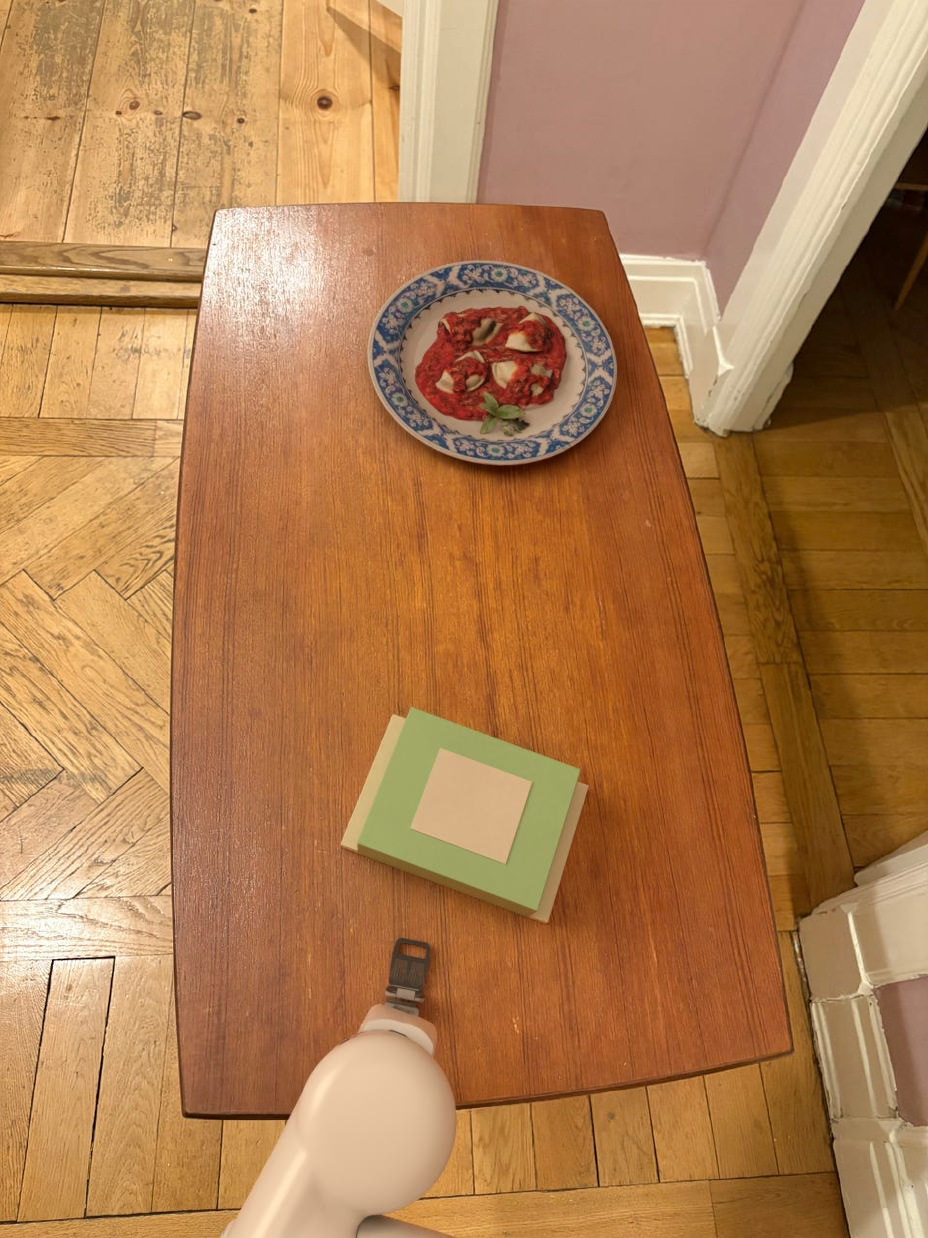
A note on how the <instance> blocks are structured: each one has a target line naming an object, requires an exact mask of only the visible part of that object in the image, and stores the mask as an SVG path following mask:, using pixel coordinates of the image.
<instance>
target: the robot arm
mask: <svg viewBox="0 0 928 1238" xmlns="http://www.w3.org/2000/svg"><path fill="white" fill-rule="evenodd" d="M409 1013H410V1010H408V1009H405V1008H403V1007H400V1006H398V1005H395V1004H394V1006H393V1008H392V1007H390V1006H386V1005H384V1004H382V1003H376V1004H374V1005H372V1006H371V1007H370V1008H369V1010H368V1012H367V1014H366V1015H365V1017H364V1019H363V1021H362V1023H361V1025H360V1027H359V1029H358V1030H357V1033H354V1034H351V1035H350V1036H348V1037H345V1038H344V1039H343V1040H341V1041H340V1042H339V1043H338V1044H336V1045H335V1046H334V1047H333V1048H332V1049H331V1050H329V1052H328V1053H327V1054H326V1055H324V1057H323V1058H322V1059H321V1060H320V1061H319V1062H318V1064H316V1066H315V1067H314V1069H313V1070H312V1071H311V1073H310V1075H309V1077H308V1078H307V1080H306V1083H305V1085H304V1087H303V1089H302V1092H301V1094H300V1096H299V1098H298V1099H297V1102H296V1104H295V1106H294V1108H293V1109H292V1111H291V1113H290V1115H289V1117H288V1119H287V1122H285V1123H286V1124H285V1126H284V1127H283V1129H282V1131H281V1133H280V1136H279V1137H278V1139H277V1141H276V1143H275V1145H274V1147H273V1149H272V1150H271V1153H270V1155H269V1156H268V1159H266V1162H265V1164H264V1166H263V1168H262V1170H261V1172H260V1173H259V1175H258V1177H257V1179H256V1180H255V1182H254V1184H253V1187H252V1188H251V1190H250V1192H249V1194H248V1195H247V1198H246V1200H245V1201H244V1203H243V1205H242V1207H241V1209H240V1211H239V1212H238V1214H237V1216H236V1217H234V1218H233V1219H232V1220H230V1221H229V1223H228V1224H227V1225H226V1227H225V1228H224V1229H223V1231H222V1232H221V1233H220V1236H219V1238H458V1237H456V1236H453V1235H450V1234H448V1233H444V1232H441V1231H438V1230H435V1229H432V1228H428V1227H426V1226H422V1225H418V1224H415V1223H411V1222H408V1221H405V1220H401V1219H398V1218H394V1217H391V1216H387V1214H391V1213H394V1212H398V1211H400V1210H403V1209H406V1208H407V1207H409V1206H411V1205H413V1204H414V1203H415V1202H417V1201H418V1200H420V1199H421V1198H422V1197H423V1196H424V1195H425V1194H427V1193H428V1192H429V1191H430V1190H431V1189H432V1188H433V1186H434V1185H435V1184H436V1183H437V1182H438V1181H439V1179H440V1177H441V1176H442V1175H443V1172H444V1171H445V1169H446V1167H447V1165H448V1163H449V1161H450V1158H451V1155H452V1152H453V1149H454V1145H455V1141H456V1135H457V1124H458V1123H457V1109H456V1108H457V1107H456V1100H455V1096H454V1093H453V1090H452V1086H451V1083H450V1082H449V1079H448V1077H447V1075H446V1073H445V1072H444V1070H443V1068H442V1067H441V1065H440V1064H439V1062H438V1061H437V1059H436V1058H435V1053H436V1049H437V1044H438V1043H437V1042H438V1031H437V1030H438V1029H437V1028H436V1026H435V1025H434V1023H432V1022H430V1021H428V1020H426V1019H425V1018H422V1017H420V1016H416V1015H411V1014H409Z"/></svg>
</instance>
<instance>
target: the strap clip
mask: <svg viewBox="0 0 928 1238" xmlns="http://www.w3.org/2000/svg"><path fill="white" fill-rule="evenodd" d="M402 943H403V944H410V945H415V946H420V947H423V948H425V957H418V956H412V955H408V954H402V953H398V950H399V947H400V944H402ZM391 954H392V955H391V959H390V968H389V974H388V984H389V985H387V987H386V988H385V991H384V996H385V997H391V999H390V998H389V999H388V1000H387V1002H385V1003H384V1004H383V1005H386V1006H390V1007H392V1008H393V1006H394V1004H395V1005H398V1006H400V1007H403V1008H405V1009H408V1010H410V1013H409V1014H411V1015H416V1016H418V1017H420V1016H419V1015H420V1009H419V1008H418V1005H417V1004H416V1003H417V1002H418V1003H421V1004H424V1003H425V999H426V995H425V994H424V993H423V992H422V990H423V989H424V985H425V982H426V978H427V974H428V969H429V965H430V960H431V945H430V944H429V943H428V942H427V941H421V940H415V939H411V938H405V937H399V938H397V940H396V941H395V945H394V946H393V950H392V953H391ZM392 998H396V999H401V1000H407V1001H412V1002H416V1003H412V1002H407V1001H401V1000H396V999H392Z"/></svg>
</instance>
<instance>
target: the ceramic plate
mask: <svg viewBox="0 0 928 1238" xmlns="http://www.w3.org/2000/svg"><path fill="white" fill-rule="evenodd" d="M366 351H367V352H366V357H367V366H368V370H369V376H370V379H371V382H372V386H373V388H374V390H375V393H376V395H377V396H378V398H379V400H380V402H381V403H382V405H383V407H384V409H385V411H387V412H388V414H389V415H390V416H391V418H393V419H394V421H395V422H396V423H397V424H398V425H399V426H400V427H402V429H404V430H405V432H407V433H408V434H409V435H411V436H412V437H413V438H415V439H416V440H418V441H419V442H421V443H423V444H424V445H426V446H427V447H429V448H431V449H433V450H434V451H437V452H439V453H442V454H444V455H447V456H449V457H452V458H455V459H458V460H461V461H465V462H470V463H474V464H479V465H480V464H481V465H489V466H516V465H525V464H530V463H536V462H539V461H543V460H546V459H550V458H552V457H554V456H557V455H559V454H561V453H564V452H566V451H568V450H570V448H572V447H574V446H575V445H577V444H579V443H580V442H581V441H583V440H584V439H585V438H586V437H588V436H589V434H591V433H592V432H593V430H594V429H595V428H596V427H597V426H598V425H599V423H600V422H601V421H602V419H603V418H604V416H605V414H606V413H607V411H608V409H609V407H610V405H611V403H612V401H613V398H614V394H615V392H616V387H617V374H618V365H617V358H616V357H617V356H616V351H615V348H614V344H613V342H612V338H611V336H610V334H609V332H608V330H607V328H606V326H605V324H604V323H603V321H602V319H601V318H600V317H599V315H598V314H597V312H596V311H595V310H594V309H593V308H592V306H590V304H589V303H587V301H586V300H585V299H584V298H583V297H581V296H580V295H579V294H578V293H577V292H575V291H574V290H573V289H572V288H570V287H569V286H567V285H566V284H564V283H563V282H561V281H559V280H557V278H554V277H552V276H550V275H548V274H547V273H544V272H543V271H540V270H537V269H533V268H531V267H527V266H523V265H520V264H516V263H512V262H506V261H499V260H488V259H487V260H486V259H485V260H484V259H483V260H481V259H480V260H478V259H477V260H475V259H474V260H464V261H458V262H457V261H456V262H452V263H446V264H443V265H440V266H436V267H433V268H430V269H428V270H426V271H424V272H421V273H419V274H418V275H416V276H414V277H412V278H411V279H409V280H408V281H406V282H404V283H403V284H402V285H401V286H400V287H399V288H398V289H396V290H394V291H393V293H392V294H391V295H390V296H389V297H388V298H387V299H386V301H385V302H384V303H383V305H381V307H380V309H379V311H378V312H377V314H376V315H375V318H374V320H373V323H372V325H371V329H370V331H369V336H368V341H367V349H366Z"/></svg>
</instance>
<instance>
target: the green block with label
mask: <svg viewBox="0 0 928 1238" xmlns="http://www.w3.org/2000/svg"><path fill="white" fill-rule="evenodd" d="M580 774H581V768H579V767H577V766H574V765H570V764H568V763H565V762H562V761H560V760H558V759H554V758H551V757H549V756H546V755H543V754H541V753H538V752H535V751H533V750H530V749H527V748H524V747H522V746H519V745H516V744H513V743H511V742H508V741H506V740H503V739H500V738H497V737H494V736H492V735H489V734H486V733H484V732H481V731H478V730H476V729H473V728H470V727H467V726H464V725H462V724H459V723H457V722H453V721H451V720H448V719H445V718H443V717H440V716H438V715H435V714H433V713H430V712H427V711H424V710H421V709H418V708H416V707H413V706H410V708H409V711H408V713H407V715H406V717H403V716H400V715H398V714H395V713H392V715H391V717H390V719H389V721H388V725H387V727H386V730H385V732H384V735H383V737H382V740H381V742H380V744H379V747H378V749H377V751H376V755H375V756H374V759H373V762H372V764H371V767H370V769H369V772H368V774H367V777H366V779H365V782H364V784H363V787H362V789H361V791H360V794H359V796H358V799H357V801H356V804H355V806H354V809H353V812H352V814H351V817H350V818H349V822H348V824H347V825H346V826H347V827H346V829H345V831H344V833H343V836H342V838H341V841H340V848H342V849H345V850H347V851H350V852H353V853H356V854H358V855H360V856H363V857H366V858H368V859H371V860H374V861H376V862H379V863H382V864H385V865H387V866H390V867H393V868H395V869H397V870H401V871H402V872H406V873H409V874H411V875H414V876H416V877H419V878H422V879H425V880H426V881H429V882H432V883H435V884H438V885H440V886H443V887H446V888H448V889H451V890H454V891H456V892H459V893H461V894H464V895H467V896H470V897H472V898H475V899H477V900H479V901H483V902H486V903H488V904H491V905H494V906H496V907H498V908H501V909H504V910H507V911H509V912H512V913H515V914H517V915H520V916H523V917H525V918H528V919H530V920H533V921H535V922H538V923H541V924H544V925H546V924H548V923H549V920H550V917H551V913H552V910H553V908H554V904H555V901H556V897H557V894H558V891H559V886H560V884H561V881H562V877H563V874H564V870H565V866H566V864H567V860H568V857H569V853H570V850H571V847H572V844H573V840H574V836H575V833H576V830H577V827H578V824H579V820H580V816H581V815H582V814H581V813H582V810H583V807H584V803H585V801H586V797H587V793H588V790H589V786H590V785H589V784H585V783H584V782H580V781H578V780H579V777H580Z"/></svg>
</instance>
